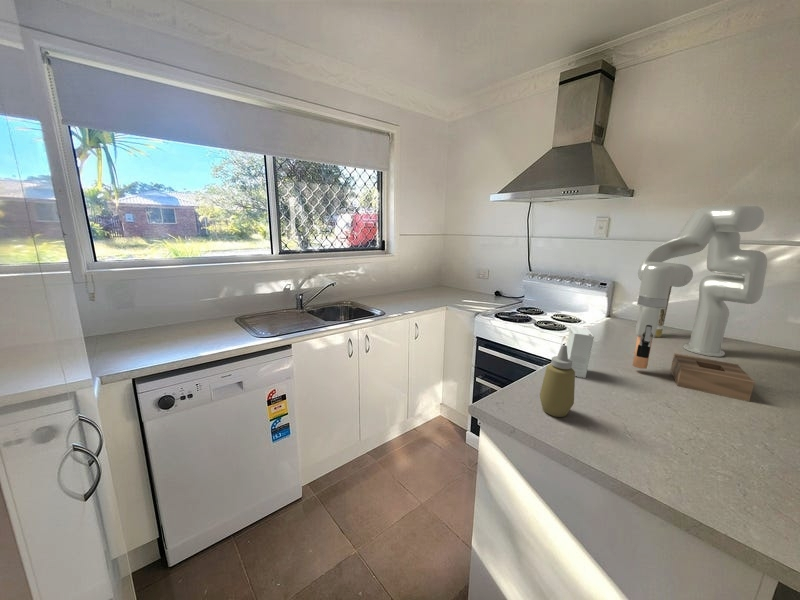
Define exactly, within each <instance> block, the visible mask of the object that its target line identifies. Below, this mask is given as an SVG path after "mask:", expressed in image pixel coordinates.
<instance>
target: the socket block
mask: <svg viewBox="0 0 800 600" xmlns="http://www.w3.org/2000/svg"><path fill="white" fill-rule="evenodd" d="M670 371H671V374H672V377H673V379H674V381H675V383H676V385H677V386H678V387H682V388H685V389H690V390H695V391H699V392H704V393H709V394H713V395H718V396H723V397H727V398H731V399H734V400H740V401H744V400H745V402H750V401H751V396H752V393H753V388H754V387H755V381H754V380H753V379H752V378H751V377H750V376H749V374H747V373H746V371H745V370H743V368H742V367H741V366H740V365H739V364H738V363H731V362H725V361H720V360H715V359H709V358H704V357H698V356H692V355H688V354H681V353H677V352H676V353H675V352H674V353H673V357H672V362H671V366H670Z"/></svg>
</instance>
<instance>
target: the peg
mask: <svg viewBox="0 0 800 600" xmlns="http://www.w3.org/2000/svg"><path fill="white" fill-rule="evenodd" d="M643 336H645V335H643ZM640 338H641V336H637V338H636V344H635V349H634V355H633V361H632V366H633V367H635V368H638V369H642V370H645V369H647V368H648V364H649V358H650V356H649V357H648V358H643V357H638V356H637V349H638V345H639V344H640ZM643 339H644V338H643ZM653 339H654V338H651V343H650V350H651V348H652V343H653ZM650 353H651V351H650V352H649V355H651V354H650Z"/></svg>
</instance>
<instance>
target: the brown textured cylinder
mask: <svg viewBox="0 0 800 600" xmlns="http://www.w3.org/2000/svg"><path fill="white" fill-rule="evenodd" d="M672 288H673V287H672V286H670V289H669V294H668V299H667V304H666V309H661V311H660V316H659V321H658V326H657V330H656V334H655V338H661V337H662V334H663V329H664V327H665V325H664V324H665V321H666V315H667V311H668V306H669V302H670V296H671V292H672Z"/></svg>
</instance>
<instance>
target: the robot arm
mask: <svg viewBox="0 0 800 600" xmlns="http://www.w3.org/2000/svg"><path fill="white" fill-rule="evenodd" d="M764 220H765V212H764V210H763V209H762V207H761V206H759V205H715V206H712V205H711V206H703V207H700V208H698V209H696V210H695V211H694V212H693V213H692V214H691V215H690V216H689V218H688V220H687V221H686V222H685V224H684V225H683V226H682V228H681V230H680V231H679V233H678V234H677V236H675V237H674V238H672V239H669V240H667V241H665V242H664V243H661V244H659V245H658V246H656V247H654V248H653V249H652V250H651V251H650V252H648V254H647V255H646V256H645V258H644V259H643V261H642V262H641V264H640V265H639V268H638V271H637V276H638V279H639V280H640V281H641V282H640V288H639V293H638V298H637V302H636V303H637V304H636V305H637V306H638V307H639V310H638V314H637V318H636V319H637V320H636V324H635V329H634V330H635V336H636V337H638V336H641V338H640V344H639V345H638V349H637V356H638V357H643V358H648V357H649V358H650V354H649V352H650V353H651V349H650V343H651V338H653V339H655V338H656V337H655V334H656V330H657V326H658V321H659V316H660V311H661V309H666V304H667V299H668V294H669V289H670V286H672V288H673V287H674V288H682V287H685V286H686V285H688V284H690V282H691V281H692V279H693V277H694V272H693V269H692V268H691V267H690V266H688V265H686V264H684V263H674V262H673V263H672V262H666V261H668V260H672V259H675V258H679V257H680V258H681V257H684V256H689V255H694V254H696V253H700V252H702V251H703V250H705V248H706V247H707V255H706V269H707V270H708V271H709V272H710V273H714V274H711V275H707V276H704V277H703V278H702V279H701V281H700V282H699V286H698V288H699V289H698V302H697V303H698V304H697V307H696V308H697V309H696V313H695V316H694V320H693V325H692V330H691V335H690V338H689V343H684V344H683V348H684V350H686V351H688V352H692V353H694V354H698V355H702V356H709V357H716V358H717V357H718V358H720V357H725V355H726V353H725V351H724V350H721V348H722V344H723V341H724V336H725V333H726V329H727V324H728V320H729V317H730V309H729V307H728V305H727V304H726V302H731V303H737V304H739V303H740V304H745V305H752V304H756V303H757V302H759V301H760V299H761V298H762V296H763V291H764V288H765V287H764V285H765V278H766V272H767V266H768V258H767V255H766V254H765V253H764V251H761V250H755V249H754V250H753V249H741V246H740V245H741V244H740V243H741V234H740V233H747V232H754V231H756V230H757V229H758V228H760V226H761V225H762V223H763V222H764ZM715 273H716V274H715ZM720 274H721V275H720ZM727 275H728V276H727ZM729 275H730V276H729ZM738 276H739V277H738ZM740 276H741V277H740ZM643 335H645V336H643ZM643 338H644V339H643Z"/></svg>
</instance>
